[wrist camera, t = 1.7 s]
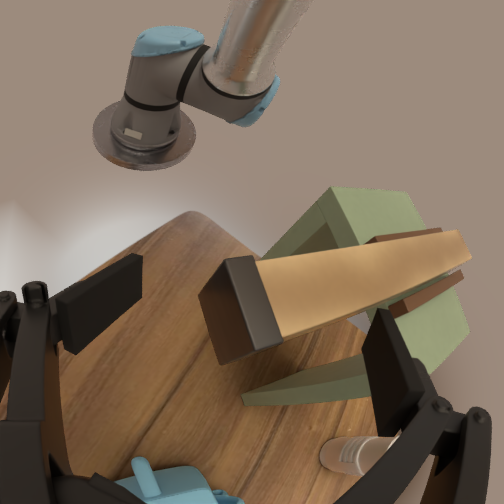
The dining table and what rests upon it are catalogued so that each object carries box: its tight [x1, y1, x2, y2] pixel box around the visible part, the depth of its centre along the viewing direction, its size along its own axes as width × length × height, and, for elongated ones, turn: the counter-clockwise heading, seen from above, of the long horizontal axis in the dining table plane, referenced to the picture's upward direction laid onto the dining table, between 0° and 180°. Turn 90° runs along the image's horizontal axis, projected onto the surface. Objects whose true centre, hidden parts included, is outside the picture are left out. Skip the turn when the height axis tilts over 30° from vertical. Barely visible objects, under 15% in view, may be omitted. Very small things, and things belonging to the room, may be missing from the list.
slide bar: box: [198, 229, 472, 365], centre depth 17 cm, size 3×23×4 cm, turn 111°
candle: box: [320, 436, 399, 476], centre depth 34 cm, size 7×7×15 cm
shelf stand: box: [241, 187, 470, 406], centre depth 33 cm, size 16×12×32 cm
